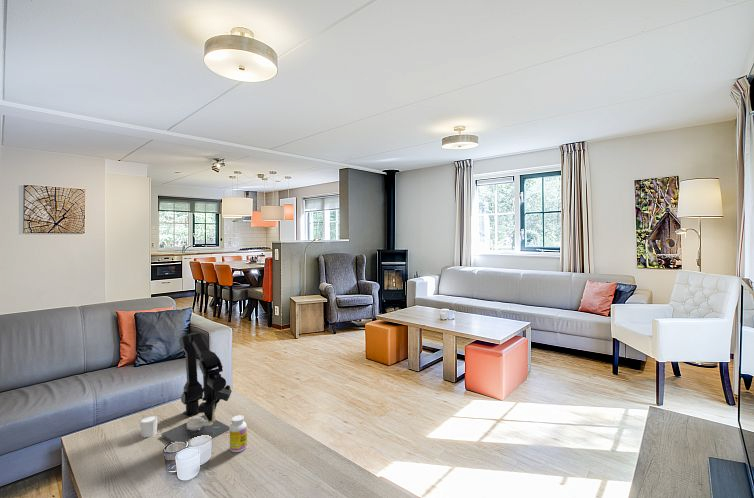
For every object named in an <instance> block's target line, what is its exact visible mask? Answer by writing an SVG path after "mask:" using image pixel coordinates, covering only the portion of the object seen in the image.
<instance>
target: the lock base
mask: <svg viewBox="0 0 754 498" xmlns="http://www.w3.org/2000/svg"><path fill="white" fill-rule="evenodd" d="M199 417H202V418H204V420H208V419H207V417H206V415H205V414H203V415H201V416H199ZM229 428H230V425H227V424H226V423H223V422H221V421H218V419H215V422H213V423H212V425H211V426H203V427H201V428H199V429H196V430H188V429H187V422H184V423H182V424H179V425H177V426H176V427H174V428H171V429H169V430H166V431H164V432H162V433H161V438H163V439H164V440H165V441H168V442H169V443H170V444H172V443H171V442H175V441H187V442H189V441H190V440H191V439H192V438H194V437H197V436H201V435H209V436H211V437H212V439H214V438H217V437H218V436H220V435H223V434H224V433H226V432H228V431H229Z"/></svg>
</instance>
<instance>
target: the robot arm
mask: <svg viewBox="0 0 754 498" xmlns="http://www.w3.org/2000/svg"><path fill="white" fill-rule="evenodd" d="M178 342H179V346H180V348H181V349H182V350H183V351H184V353H185V354H184V355H185V369H186V370H185V372H186V383H185V384H184V386H183V392H182V394H181V396H180V401H181V403H182V404H183V405H185V410H184V411H183V412H182V414H184V415H185V416H187V417H188V418H189V417H192V416H195V415H196V414H203V415H206V417H207V419H208V420H209V421H212V416H213V410H214V409H215V411H216V410H217V405H218V403H219V402H220V400H222V401H225V402H227V401H229V400H230V398H231V394H232V389H231V386H230V385H228V384H227V381H226V379H225V378H224V377H223V376H222V374H220V373H221V372H223V365H222V361H221V359H220V358H219V356H217V354H216V353H215V352H213V351H212V350H210V349H209V347H208V345H207V344H206V342H205V340H204V338H203V335H202V332H191V333H188V334H183V335H181V336H180V338H179V341H178ZM197 355H198V357H199V362H198V363H199V364H198V365H197ZM197 366H199V369H200V371H201V373H202V383H203V385H202V384H201V382H200V381H199V380H198V368H197ZM226 384H227V385H226ZM199 400H202V401H203V402H200V404H199ZM204 401H205V402H204Z"/></svg>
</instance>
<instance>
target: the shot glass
mask: <svg viewBox="0 0 754 498" xmlns="http://www.w3.org/2000/svg"><path fill="white" fill-rule="evenodd" d="M139 428H140V434H141V437H142V438H143V437H144V438H145V437H148V438H151V437H153V436H155V435H156V434H157V432H158V416H157V415H155V414H154V415H151V414H150V415H147V416H144V417H142V418H140V420H139ZM145 439H146V438H145Z"/></svg>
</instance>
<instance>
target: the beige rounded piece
mask: <svg viewBox="0 0 754 498" xmlns="http://www.w3.org/2000/svg"><path fill="white" fill-rule="evenodd" d="M215 420H216V410H215V409H214V410H213V416H212V421H209V420H204V418H202V417H200V416H197V417H194V418H191V419H189V420H188V421H186V423H187V429H188V430H196V429H199V428H201V427H203V426H211V425H212V423H213V422H215Z"/></svg>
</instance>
